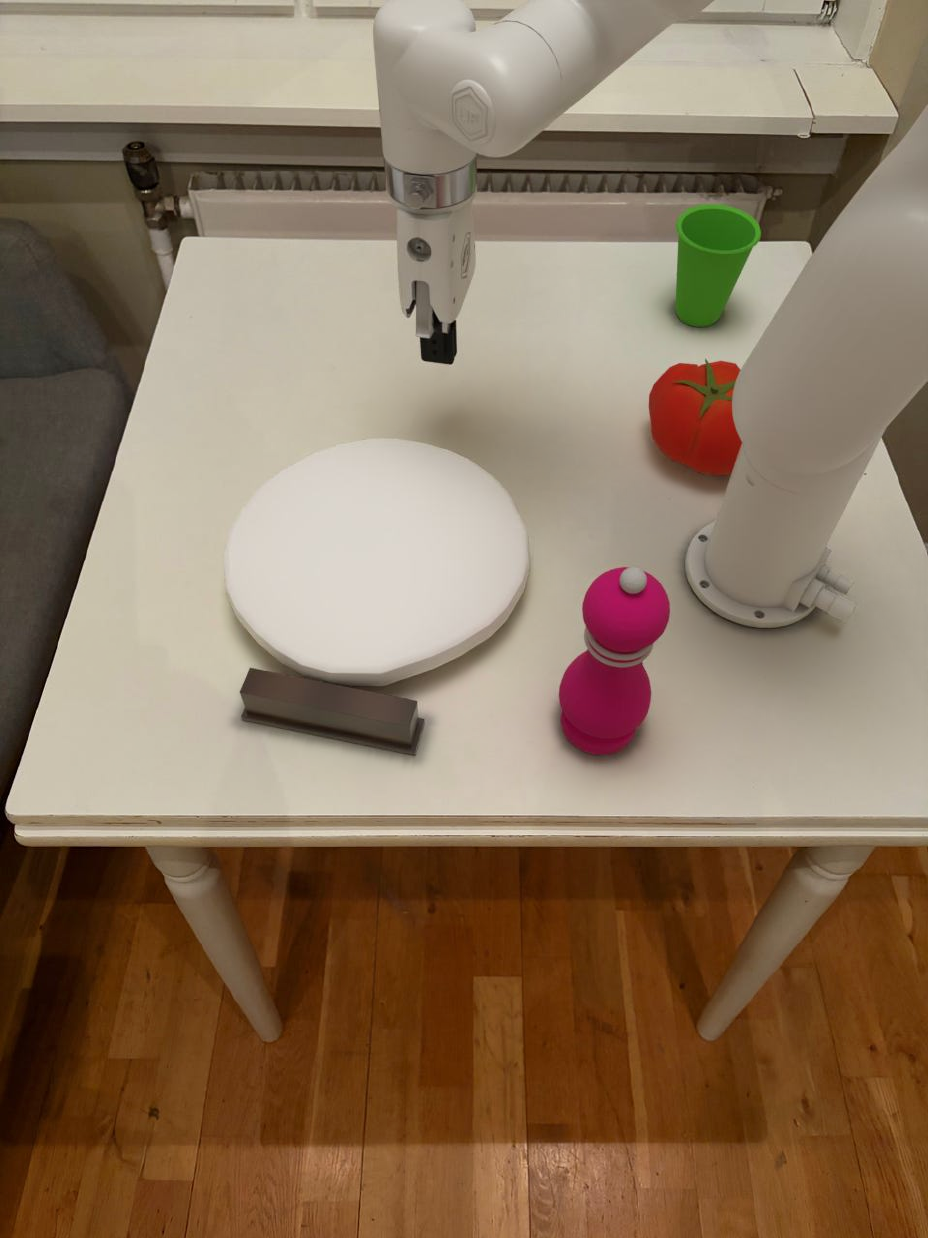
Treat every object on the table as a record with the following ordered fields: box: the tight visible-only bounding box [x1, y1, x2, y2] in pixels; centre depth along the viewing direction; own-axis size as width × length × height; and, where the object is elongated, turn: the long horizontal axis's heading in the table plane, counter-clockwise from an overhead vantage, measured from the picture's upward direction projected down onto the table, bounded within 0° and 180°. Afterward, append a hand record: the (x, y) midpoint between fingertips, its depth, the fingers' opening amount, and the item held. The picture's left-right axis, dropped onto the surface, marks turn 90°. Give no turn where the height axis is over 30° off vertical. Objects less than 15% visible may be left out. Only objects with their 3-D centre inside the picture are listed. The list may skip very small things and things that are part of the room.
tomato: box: [648, 358, 742, 476], centre depth 94 cm, size 13×12×8 cm
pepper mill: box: [558, 566, 671, 756], centre depth 70 cm, size 7×7×20 cm
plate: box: [222, 437, 531, 687], centre depth 85 cm, size 28×6×27 cm
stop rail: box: [239, 667, 426, 756], centre depth 77 cm, size 15×3×4 cm, turn 77°
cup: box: [674, 203, 762, 328], centre depth 106 cm, size 9×9×11 cm
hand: (439, 357), depth 92 cm, fingers closed
